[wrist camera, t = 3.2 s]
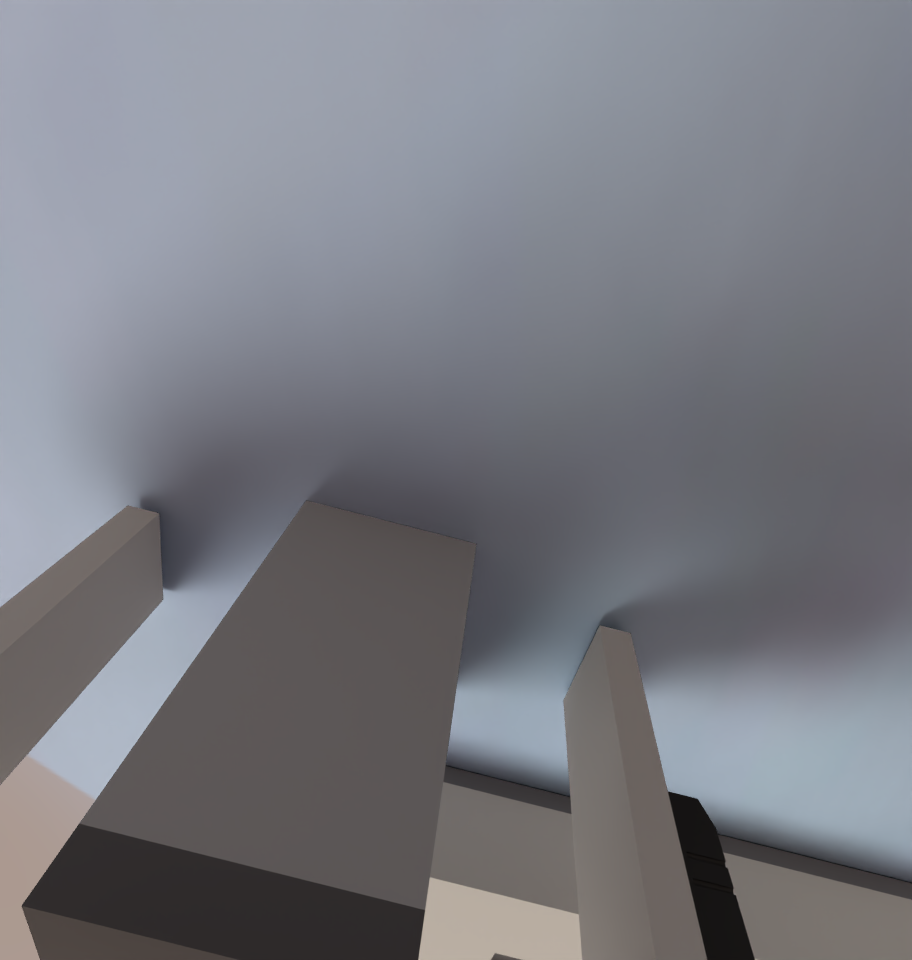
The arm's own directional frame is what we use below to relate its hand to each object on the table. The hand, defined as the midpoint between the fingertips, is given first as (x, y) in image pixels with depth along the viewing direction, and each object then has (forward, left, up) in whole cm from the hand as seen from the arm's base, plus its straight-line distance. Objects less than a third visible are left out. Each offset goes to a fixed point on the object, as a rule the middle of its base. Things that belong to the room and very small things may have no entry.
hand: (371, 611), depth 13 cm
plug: (0, 0, 0) cm, 0 cm away
